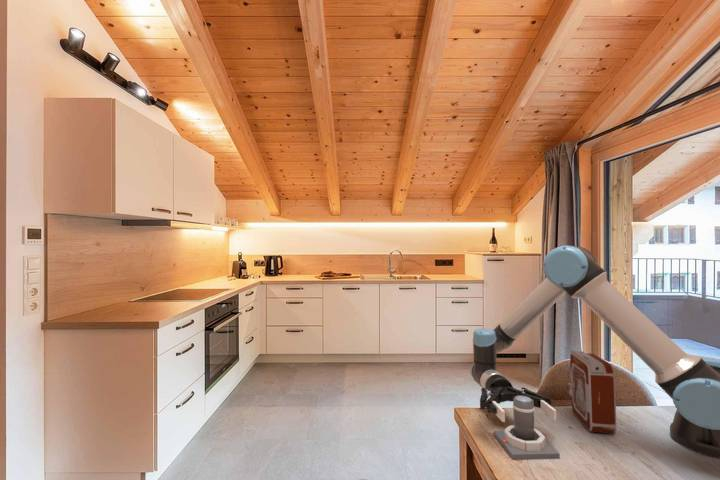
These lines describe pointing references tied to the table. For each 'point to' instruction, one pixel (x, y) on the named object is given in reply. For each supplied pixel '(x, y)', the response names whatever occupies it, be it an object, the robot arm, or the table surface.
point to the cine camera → (593, 392)
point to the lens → (524, 418)
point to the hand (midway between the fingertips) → (529, 416)
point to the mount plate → (526, 445)
